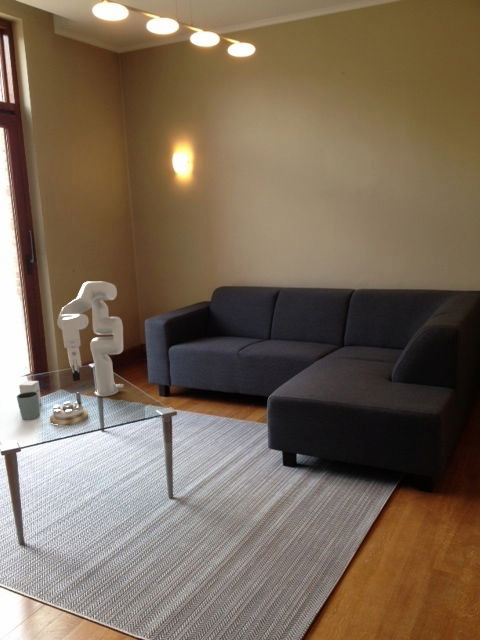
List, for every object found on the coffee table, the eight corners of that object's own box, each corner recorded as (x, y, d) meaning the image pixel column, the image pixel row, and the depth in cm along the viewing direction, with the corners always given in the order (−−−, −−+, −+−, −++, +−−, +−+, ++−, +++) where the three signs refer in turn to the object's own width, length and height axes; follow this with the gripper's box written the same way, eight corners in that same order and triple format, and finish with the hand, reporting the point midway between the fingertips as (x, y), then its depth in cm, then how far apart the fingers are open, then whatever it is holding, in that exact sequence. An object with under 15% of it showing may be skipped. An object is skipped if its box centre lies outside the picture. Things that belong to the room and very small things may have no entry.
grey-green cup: (31, 422, 284) (28, 398, 281) (15, 420, 287) (11, 397, 285) (45, 414, 293) (42, 391, 290) (29, 412, 296) (25, 390, 294)
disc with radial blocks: (82, 407, 293) (79, 388, 291) (84, 416, 280) (82, 396, 278) (53, 412, 288) (50, 392, 286) (54, 421, 276) (52, 401, 273)
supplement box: (34, 408, 303) (31, 385, 300) (21, 408, 304) (18, 385, 301) (42, 403, 310) (38, 380, 307) (29, 403, 311) (26, 380, 308)
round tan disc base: (86, 409, 296) (85, 404, 295) (90, 421, 279) (89, 416, 279) (49, 415, 290) (48, 411, 290) (51, 428, 274) (50, 423, 273)
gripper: (81, 345, 268) (86, 383, 271) (78, 338, 281) (83, 375, 285) (65, 347, 265) (69, 386, 269) (62, 341, 279) (67, 377, 283)
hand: (76, 380), depth 277 cm, fingers closed
